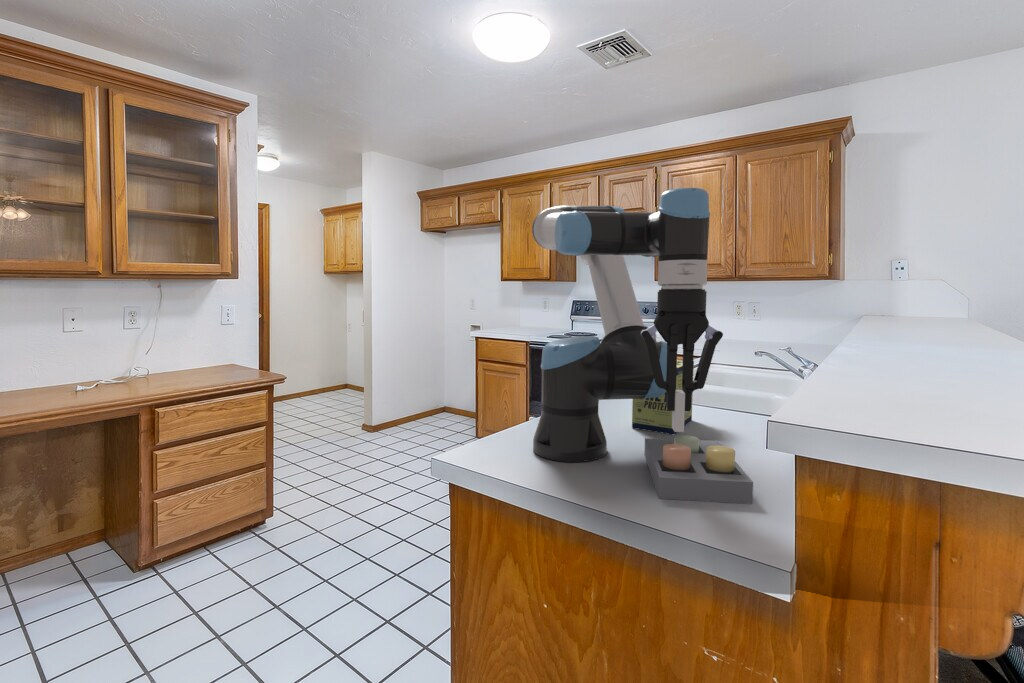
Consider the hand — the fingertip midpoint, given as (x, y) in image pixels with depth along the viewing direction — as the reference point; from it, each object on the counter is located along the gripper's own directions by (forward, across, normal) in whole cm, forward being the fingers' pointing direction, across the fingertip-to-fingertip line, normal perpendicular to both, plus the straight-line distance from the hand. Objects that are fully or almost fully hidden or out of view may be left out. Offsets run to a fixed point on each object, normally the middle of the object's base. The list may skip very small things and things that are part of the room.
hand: (677, 429), depth 83 cm
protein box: (+10, +4, +40) cm, 41 cm away
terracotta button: (+6, 0, 0) cm, 6 cm away
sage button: (+8, +4, +10) cm, 13 cm away
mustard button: (+6, +7, 0) cm, 9 cm away
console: (+10, +3, +5) cm, 12 cm away
